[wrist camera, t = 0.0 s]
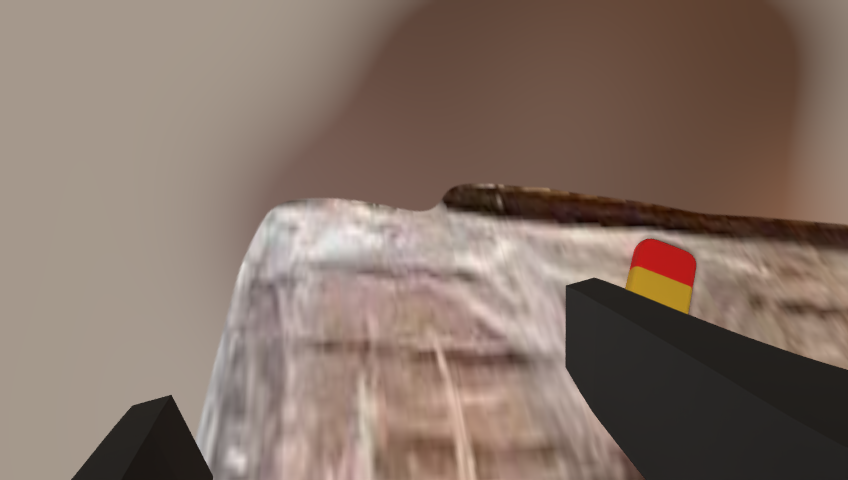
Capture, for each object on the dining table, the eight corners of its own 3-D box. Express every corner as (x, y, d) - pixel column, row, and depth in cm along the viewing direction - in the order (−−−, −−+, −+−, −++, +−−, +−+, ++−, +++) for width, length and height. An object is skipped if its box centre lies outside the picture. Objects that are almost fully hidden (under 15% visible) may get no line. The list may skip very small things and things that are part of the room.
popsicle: (689, 261, 47) (700, 254, 45) (661, 413, 41) (673, 412, 39) (634, 240, 47) (643, 232, 45) (599, 388, 41) (608, 385, 40)
